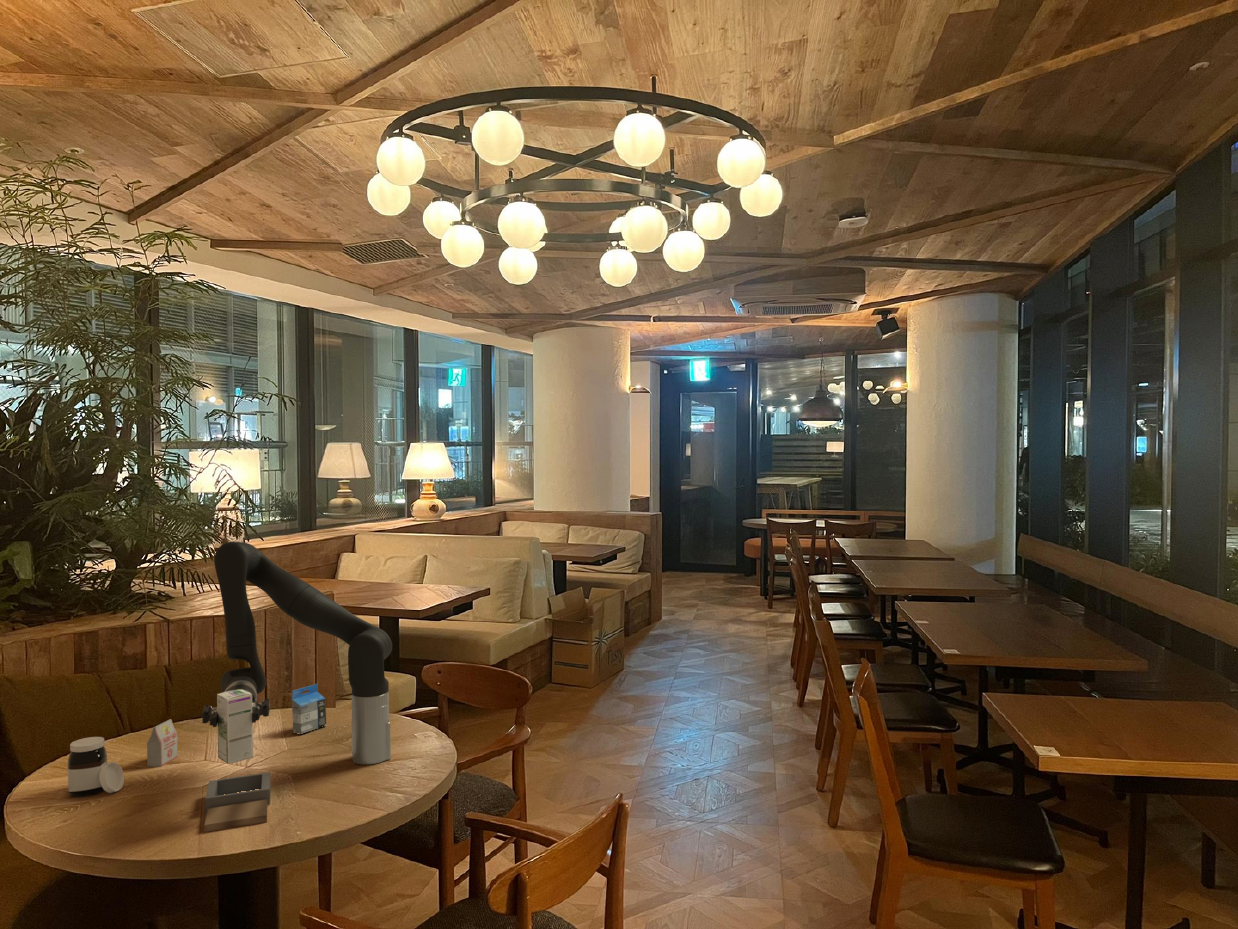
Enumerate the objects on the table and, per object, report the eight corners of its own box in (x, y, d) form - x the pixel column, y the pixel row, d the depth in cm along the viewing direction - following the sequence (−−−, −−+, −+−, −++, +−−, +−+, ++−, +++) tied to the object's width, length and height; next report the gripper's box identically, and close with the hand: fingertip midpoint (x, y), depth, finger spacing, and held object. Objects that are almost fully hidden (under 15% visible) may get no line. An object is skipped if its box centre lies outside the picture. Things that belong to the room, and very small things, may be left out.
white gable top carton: (147, 766, 208) (146, 727, 208) (164, 757, 215) (163, 719, 215) (160, 766, 208) (160, 727, 208) (177, 757, 215) (177, 719, 215)
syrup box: (254, 757, 181) (254, 692, 181) (226, 765, 177) (226, 698, 177) (243, 751, 185) (243, 687, 185) (216, 758, 181) (216, 693, 180)
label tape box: (301, 736, 231) (300, 692, 231) (291, 733, 233) (291, 690, 233) (326, 727, 238) (326, 685, 238) (317, 724, 240) (317, 683, 240)
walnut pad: (267, 805, 183) (267, 799, 183) (266, 822, 175) (266, 815, 175) (207, 815, 179) (207, 808, 179) (204, 832, 171) (204, 825, 171)
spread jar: (71, 786, 196) (70, 738, 196) (126, 777, 201) (125, 730, 201) (64, 805, 185) (63, 753, 185) (122, 795, 190) (121, 745, 190)
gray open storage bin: (270, 786, 194) (270, 772, 194) (269, 804, 184) (269, 789, 184) (209, 795, 189) (209, 780, 189) (205, 814, 179) (205, 798, 179)
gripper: (205, 687, 191) (197, 707, 176) (271, 680, 197) (269, 699, 181) (205, 719, 191) (198, 742, 176) (272, 711, 197) (270, 733, 181)
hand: (234, 720), depth 179 cm, fingers closed on syrup box, 7 cm apart
